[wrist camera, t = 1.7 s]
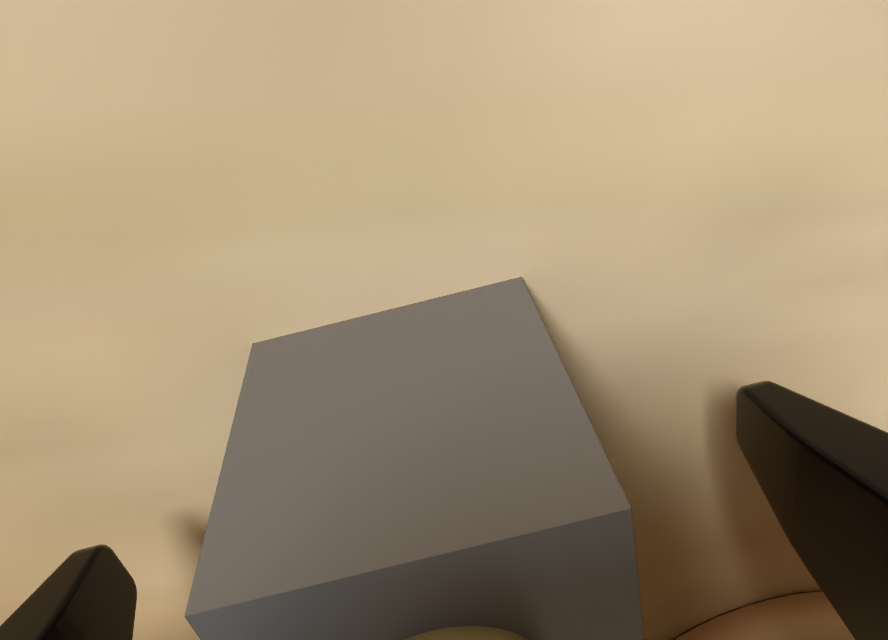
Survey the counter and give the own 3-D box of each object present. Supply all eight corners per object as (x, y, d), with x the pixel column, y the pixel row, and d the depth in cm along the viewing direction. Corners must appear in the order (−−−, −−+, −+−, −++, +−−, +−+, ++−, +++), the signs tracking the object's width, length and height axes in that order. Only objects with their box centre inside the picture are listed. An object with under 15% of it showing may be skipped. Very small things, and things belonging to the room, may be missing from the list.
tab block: (555, 472, 12) (683, 819, 7) (334, 526, 12) (320, 904, 7) (520, 275, 10) (668, 586, 5) (253, 342, 10) (162, 708, 5)
